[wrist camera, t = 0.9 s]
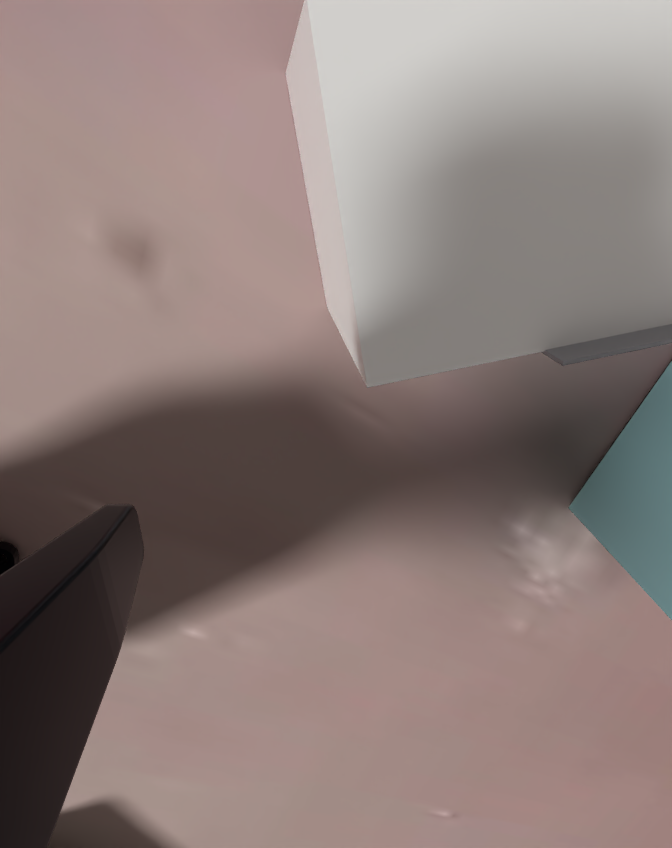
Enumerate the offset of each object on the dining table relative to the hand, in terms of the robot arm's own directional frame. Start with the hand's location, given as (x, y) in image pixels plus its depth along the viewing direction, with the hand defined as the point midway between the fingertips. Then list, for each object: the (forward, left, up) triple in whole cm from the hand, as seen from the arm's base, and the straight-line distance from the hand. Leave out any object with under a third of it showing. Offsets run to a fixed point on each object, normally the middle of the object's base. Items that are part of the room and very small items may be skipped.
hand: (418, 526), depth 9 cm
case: (+7, -6, -12) cm, 15 cm away
